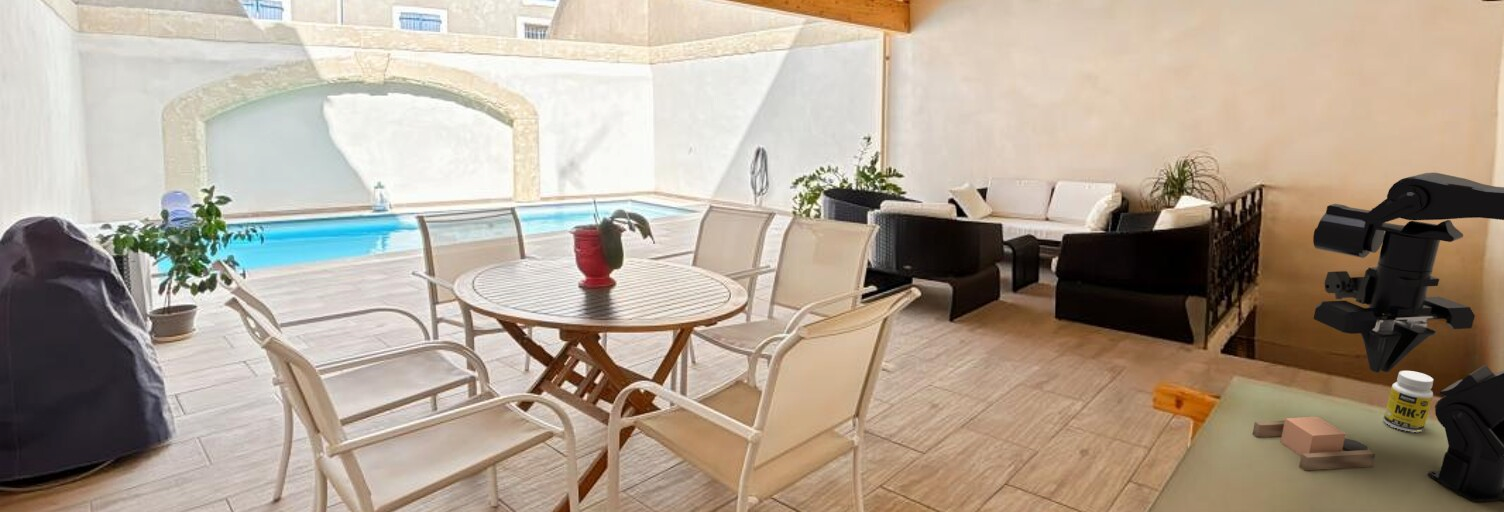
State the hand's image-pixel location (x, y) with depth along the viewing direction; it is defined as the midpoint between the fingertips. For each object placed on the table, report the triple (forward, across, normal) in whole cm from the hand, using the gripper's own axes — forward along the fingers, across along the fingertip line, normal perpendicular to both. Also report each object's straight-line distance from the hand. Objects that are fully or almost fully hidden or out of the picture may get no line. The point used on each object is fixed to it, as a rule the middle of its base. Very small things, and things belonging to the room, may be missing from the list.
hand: (1379, 371), depth 106 cm
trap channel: (+12, +6, 0) cm, 14 cm away
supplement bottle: (+12, -12, -5) cm, 17 cm away
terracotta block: (+12, +8, 0) cm, 15 cm away
